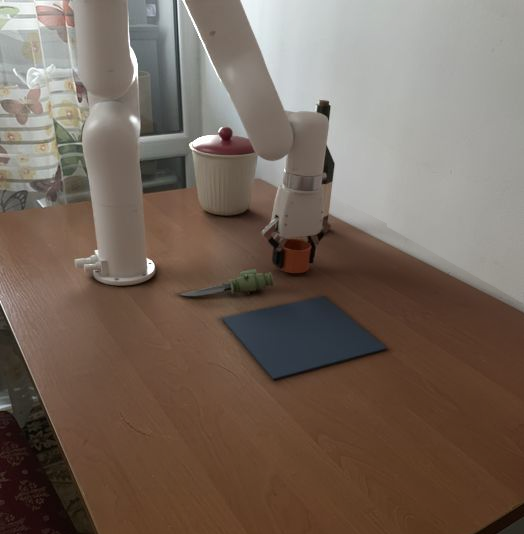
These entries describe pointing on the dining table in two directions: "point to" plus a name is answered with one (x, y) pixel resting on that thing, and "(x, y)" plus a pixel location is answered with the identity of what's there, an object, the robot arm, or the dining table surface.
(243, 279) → the knife
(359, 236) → the dining table surface
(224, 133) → the canister
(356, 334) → the mat
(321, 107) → the wine bottle
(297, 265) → the ramekin
